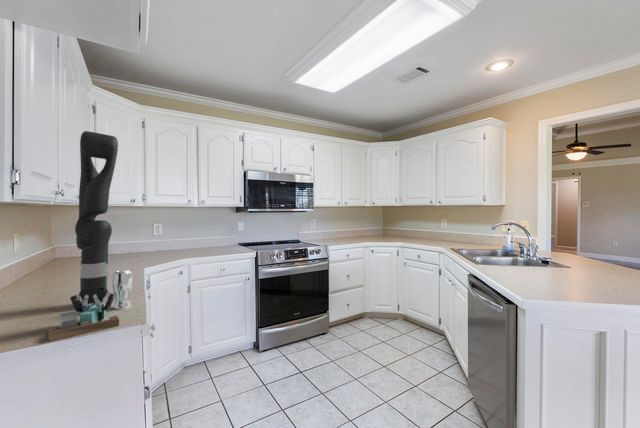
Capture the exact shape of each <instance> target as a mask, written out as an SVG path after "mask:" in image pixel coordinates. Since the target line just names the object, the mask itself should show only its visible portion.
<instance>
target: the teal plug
mask: <svg viewBox="0 0 640 428" xmlns="http://www.w3.org/2000/svg"><path fill="white" fill-rule="evenodd" d="M104 306H105V304H104ZM106 314H107V310H104V319H105V318H106V317H107V315H106ZM86 321H89V324H90V323H95V322H98V309H97V306H96V305H94V306H92V307H91V308H89V309H87V310H86V311H84V312H83V313H82V312H80V314H79V326H81V322H86Z"/></svg>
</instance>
